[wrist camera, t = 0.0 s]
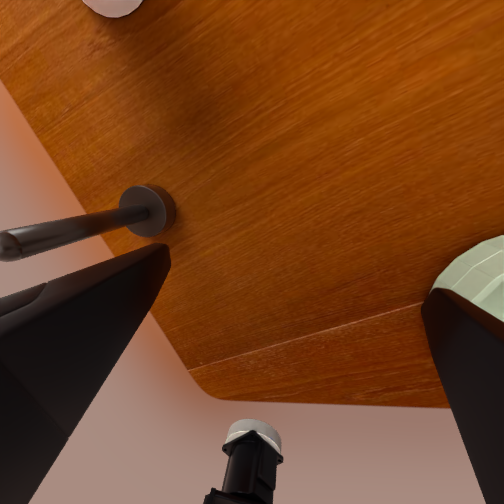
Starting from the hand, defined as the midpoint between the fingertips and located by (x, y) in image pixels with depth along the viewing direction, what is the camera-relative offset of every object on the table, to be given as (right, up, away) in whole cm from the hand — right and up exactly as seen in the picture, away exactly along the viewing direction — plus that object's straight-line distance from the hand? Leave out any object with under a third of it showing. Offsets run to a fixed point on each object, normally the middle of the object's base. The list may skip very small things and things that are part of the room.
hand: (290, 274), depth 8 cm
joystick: (-12, +5, +17) cm, 21 cm away
